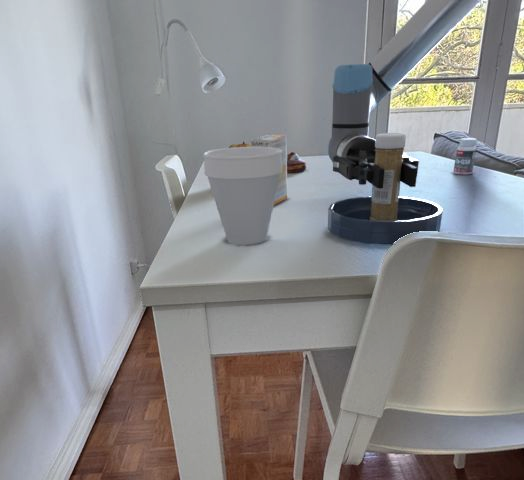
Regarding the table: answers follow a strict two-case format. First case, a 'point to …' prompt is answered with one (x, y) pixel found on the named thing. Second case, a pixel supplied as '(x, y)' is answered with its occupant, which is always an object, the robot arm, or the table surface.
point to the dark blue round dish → (382, 232)
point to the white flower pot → (244, 189)
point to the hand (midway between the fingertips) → (397, 178)
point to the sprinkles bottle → (388, 176)
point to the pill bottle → (465, 156)
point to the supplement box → (281, 143)
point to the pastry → (295, 163)
